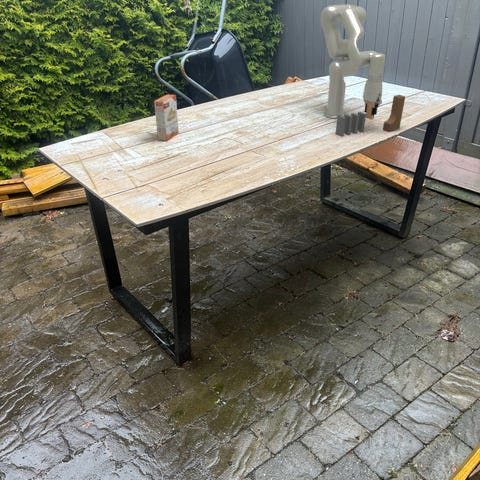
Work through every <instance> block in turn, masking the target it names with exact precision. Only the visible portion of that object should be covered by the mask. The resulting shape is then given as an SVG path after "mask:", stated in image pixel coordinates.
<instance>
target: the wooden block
mask: <svg viewBox="0 0 480 480" xmlns="http://www.w3.org/2000/svg"><path fill="white" fill-rule="evenodd" d="M405 100H406V96H405V95H402V94H396V95H393V98H392V103H391V110H390V114H389V115H390V116H389V118H388V119H387V120H385V121H384V122H383V126H382V131H386V132H387V133H388V132H393V131H397V130H400V129H401V123H402V118H403V112H404V106H405Z"/></svg>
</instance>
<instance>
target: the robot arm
mask: <svg viewBox="0 0 480 480" xmlns="http://www.w3.org/2000/svg"><path fill="white" fill-rule="evenodd" d="M366 20H367V11H366V10H365V8H363V7H362V6H357V5H353V4H349V3H348V4H333V5H328V6H326V7H324V8H323V10H322V12H321V14H320V25H321V28H322V31H323V34H324V37H325V42H326V43H325V44H326V47H327V53H328V56H329V57H330V59H337V60H333V61H332V62H331V63H330V64H329V66H328V75H329V85H328V95H327V97H328V98H327V105H326V106H324V109H325V111H324V113H323V115H324V117H325V118H329V119H337V115H341V116H343V117H344V114H346V113H345V112H344V106H345V97H346V89H347V85H346V81H345V79H344V78H346V77H352V76H353V77H354V76H355V75H357V73H358V71H359V68H366V67H368V72H367V73H368V74H367V79H366V81H365V85H364V88H363V94H362V99H363V102H364V112H363V113H365V114H366V110H367V102H368V101H370V102H373V108H372V112H371V115H374V116H375V115H377V112H378V108H379V106H380V105H382V104H383V101H382V100H383V99H382V96H383V77H384V71H385V63H386V55H385V54H384V53H382V52H381V53H380V52H377V51H375V50H367V51H366V50H365V51H360V50H359V48H358V45H357V42H358V41H359V40H360V39H362V38H363V36H364V35H365V29H364V28H363V23H364V22H365V21H366ZM335 23H342V26H343V29H344V30H345V31H344V32H345V33H346V36H347V38H346V39H345V38H344V39H343V38H342V36H341V35H342V34H341V31H340V28H338V26H337V25H336V24H335ZM342 58H343V59H342ZM375 103H376V105H375Z"/></svg>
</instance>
